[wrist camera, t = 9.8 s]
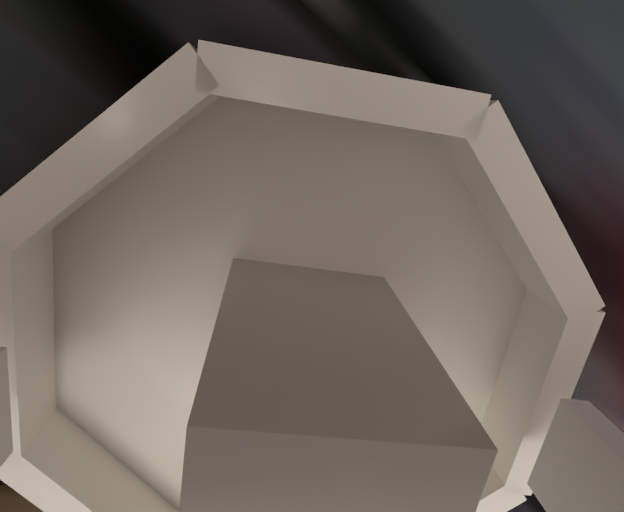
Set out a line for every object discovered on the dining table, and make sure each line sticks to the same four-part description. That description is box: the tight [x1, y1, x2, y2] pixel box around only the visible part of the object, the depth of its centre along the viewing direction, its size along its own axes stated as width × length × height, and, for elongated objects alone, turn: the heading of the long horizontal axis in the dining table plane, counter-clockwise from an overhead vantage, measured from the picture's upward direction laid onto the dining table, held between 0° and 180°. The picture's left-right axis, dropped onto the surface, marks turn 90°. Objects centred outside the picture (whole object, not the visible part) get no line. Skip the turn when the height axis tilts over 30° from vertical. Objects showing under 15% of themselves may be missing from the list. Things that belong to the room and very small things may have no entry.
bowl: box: [0, 40, 605, 512], centre depth 13 cm, size 16×16×3 cm
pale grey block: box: [179, 258, 498, 512], centre depth 10 cm, size 6×4×7 cm
